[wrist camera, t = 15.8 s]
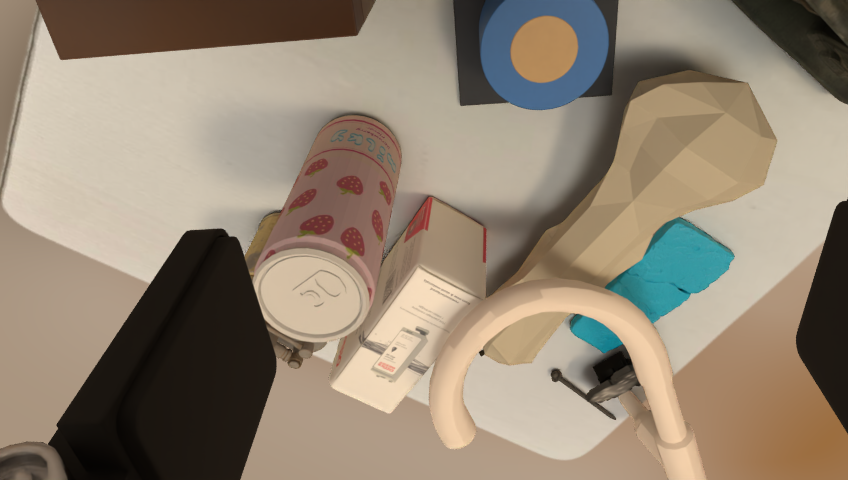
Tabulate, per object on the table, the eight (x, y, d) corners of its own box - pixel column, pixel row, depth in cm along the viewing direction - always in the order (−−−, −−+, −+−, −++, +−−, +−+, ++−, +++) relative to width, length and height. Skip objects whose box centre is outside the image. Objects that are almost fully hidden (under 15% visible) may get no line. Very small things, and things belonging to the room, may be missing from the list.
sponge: (624, 357, 49) (563, 322, 48) (739, 250, 43) (671, 207, 42) (627, 370, 48) (564, 334, 47) (746, 262, 42) (676, 218, 41)
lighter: (250, 234, 44) (200, 328, 36) (277, 199, 43) (232, 289, 34) (333, 286, 47) (304, 386, 38) (362, 254, 45) (339, 352, 37)
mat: (449, -56, 34) (449, -55, 33) (622, -73, 33) (623, -72, 32) (460, 103, 38) (460, 106, 38) (610, 93, 38) (611, 95, 37)
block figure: (596, 377, 52) (653, 344, 50) (609, 403, 51) (669, 371, 49) (563, 372, 48) (624, 335, 46) (577, 400, 47) (640, 364, 44)
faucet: (489, 507, 52) (362, 295, 40) (644, 412, 53) (566, 179, 41) (536, 599, 44) (398, 373, 33) (715, 486, 46) (645, 229, 34)
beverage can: (416, 135, 40) (392, 277, 27) (382, 205, 42) (346, 362, 30) (331, 98, 38) (266, 228, 26) (303, 172, 41) (232, 321, 29)
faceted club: (796, 106, 36) (538, 356, 50) (676, 18, 36) (451, 293, 50) (832, 156, 29) (517, 434, 42) (681, 46, 29) (415, 360, 42)
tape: (475, -30, 34) (477, -11, 30) (596, -41, 33) (613, -23, 29) (481, 85, 37) (483, 114, 33) (590, 77, 37) (605, 106, 33)
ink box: (488, 225, 43) (404, 333, 49) (427, 191, 42) (348, 305, 48) (489, 303, 36) (389, 419, 42) (415, 264, 35) (324, 388, 41)
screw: (559, 375, 49) (557, 366, 50) (549, 381, 50) (547, 372, 50) (621, 421, 52) (618, 411, 53) (612, 426, 53) (609, 417, 53)
